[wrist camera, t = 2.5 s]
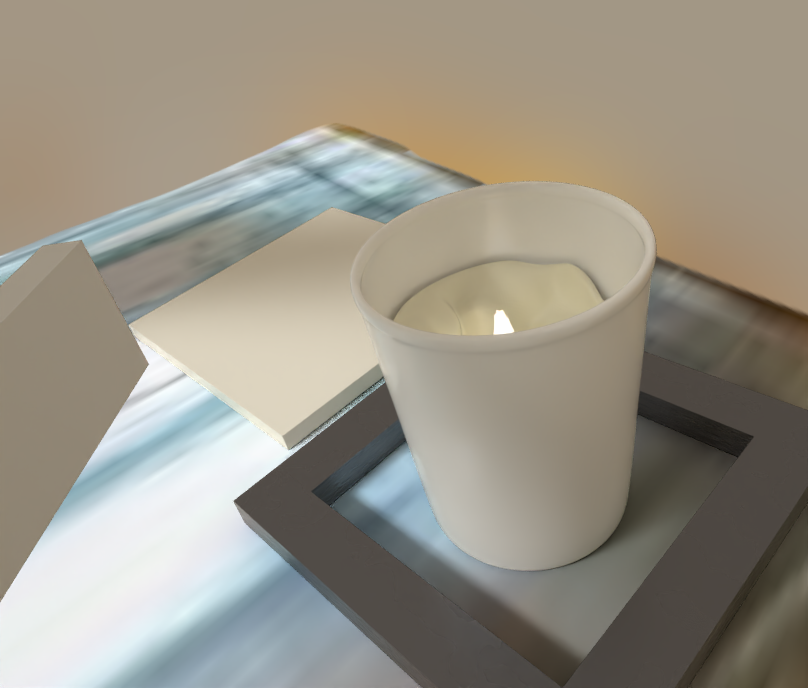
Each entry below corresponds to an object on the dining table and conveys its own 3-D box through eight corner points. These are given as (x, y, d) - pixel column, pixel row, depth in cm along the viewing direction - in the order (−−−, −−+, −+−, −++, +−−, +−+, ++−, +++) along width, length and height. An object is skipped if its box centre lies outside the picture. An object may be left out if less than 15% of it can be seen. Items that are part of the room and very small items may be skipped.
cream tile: (134, 336, 46) (128, 324, 45) (334, 218, 54) (331, 207, 53) (288, 450, 34) (282, 436, 33) (512, 276, 42) (511, 262, 42)
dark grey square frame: (244, 522, 31) (233, 501, 30) (497, 318, 39) (494, 297, 38) (587, 841, 19) (585, 822, 18) (840, 451, 27) (848, 424, 27)
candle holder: (563, 383, 34) (548, 156, 27) (702, 523, 26) (731, 256, 19) (383, 461, 32) (315, 239, 25) (474, 636, 24) (414, 387, 17)
